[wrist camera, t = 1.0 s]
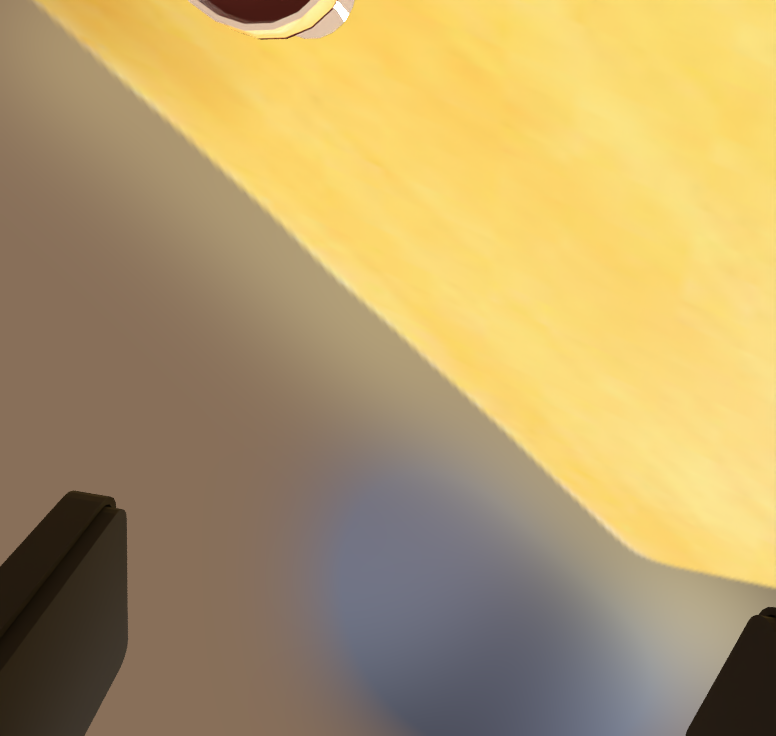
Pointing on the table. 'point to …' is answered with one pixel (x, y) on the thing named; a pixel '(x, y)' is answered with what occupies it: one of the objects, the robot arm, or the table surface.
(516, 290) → the table surface
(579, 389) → the table surface
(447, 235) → the table surface
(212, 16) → the wineglass
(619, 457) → the table surface
